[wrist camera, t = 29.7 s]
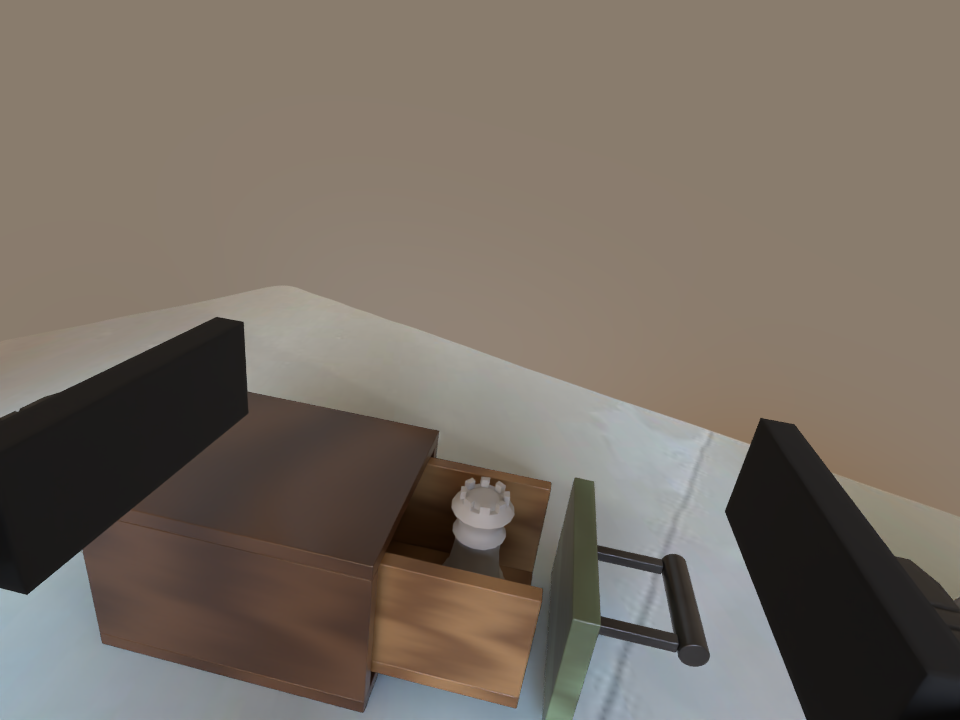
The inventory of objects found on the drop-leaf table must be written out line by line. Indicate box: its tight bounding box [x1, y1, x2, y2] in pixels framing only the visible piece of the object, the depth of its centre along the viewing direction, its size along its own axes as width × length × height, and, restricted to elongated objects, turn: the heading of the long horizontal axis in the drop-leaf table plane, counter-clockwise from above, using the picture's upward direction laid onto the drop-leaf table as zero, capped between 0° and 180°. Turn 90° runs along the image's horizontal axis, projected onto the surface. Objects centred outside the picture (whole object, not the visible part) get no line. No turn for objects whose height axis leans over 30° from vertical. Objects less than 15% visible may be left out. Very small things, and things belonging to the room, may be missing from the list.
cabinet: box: [82, 392, 439, 713], centre depth 30 cm, size 14×12×9 cm
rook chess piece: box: [443, 477, 515, 580], centre depth 28 cm, size 4×4×8 cm
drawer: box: [371, 457, 710, 720], centre depth 29 cm, size 19×10×8 cm, turn 80°
